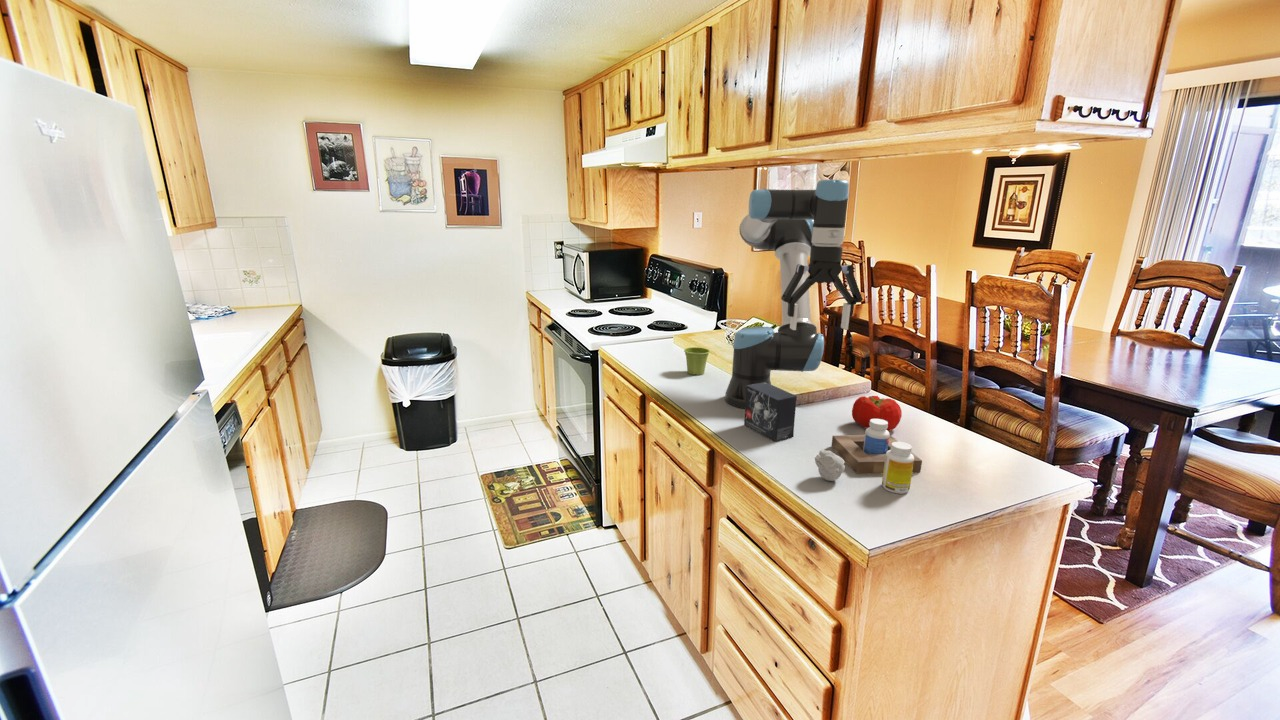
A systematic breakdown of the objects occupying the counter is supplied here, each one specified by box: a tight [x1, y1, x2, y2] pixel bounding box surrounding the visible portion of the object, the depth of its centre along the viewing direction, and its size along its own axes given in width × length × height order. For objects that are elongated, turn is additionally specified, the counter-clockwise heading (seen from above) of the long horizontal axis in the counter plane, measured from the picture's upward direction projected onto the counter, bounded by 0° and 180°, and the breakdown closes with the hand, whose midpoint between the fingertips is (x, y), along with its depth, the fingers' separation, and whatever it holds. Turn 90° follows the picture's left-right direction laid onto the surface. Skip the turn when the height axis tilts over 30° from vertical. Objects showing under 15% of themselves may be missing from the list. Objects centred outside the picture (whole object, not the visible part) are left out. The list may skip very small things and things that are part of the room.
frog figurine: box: [814, 449, 846, 482], centre depth 122 cm, size 6×7×7 cm
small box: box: [743, 382, 798, 443], centre depth 148 cm, size 13×7×12 cm, turn 28°
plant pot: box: [683, 346, 711, 376], centre depth 200 cm, size 9×9×9 cm
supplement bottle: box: [881, 441, 914, 495], centre depth 118 cm, size 6×6×10 cm
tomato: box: [851, 395, 902, 432], centre depth 152 cm, size 13×12×8 cm
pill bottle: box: [863, 419, 891, 455], centre depth 132 cm, size 6×5×10 cm
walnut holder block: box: [830, 434, 923, 475], centre depth 133 cm, size 15×15×3 cm
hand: (818, 329), depth 141 cm, fingers open, 13 cm apart
